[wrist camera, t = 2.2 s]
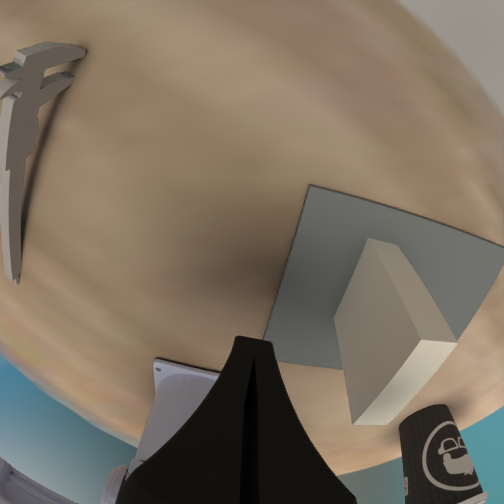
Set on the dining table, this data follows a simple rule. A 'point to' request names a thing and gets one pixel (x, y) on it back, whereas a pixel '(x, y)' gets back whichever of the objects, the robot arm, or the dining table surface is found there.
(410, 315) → the tile
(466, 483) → the coffee cup
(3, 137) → the caliper
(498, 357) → the dining table surface
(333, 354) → the mat
